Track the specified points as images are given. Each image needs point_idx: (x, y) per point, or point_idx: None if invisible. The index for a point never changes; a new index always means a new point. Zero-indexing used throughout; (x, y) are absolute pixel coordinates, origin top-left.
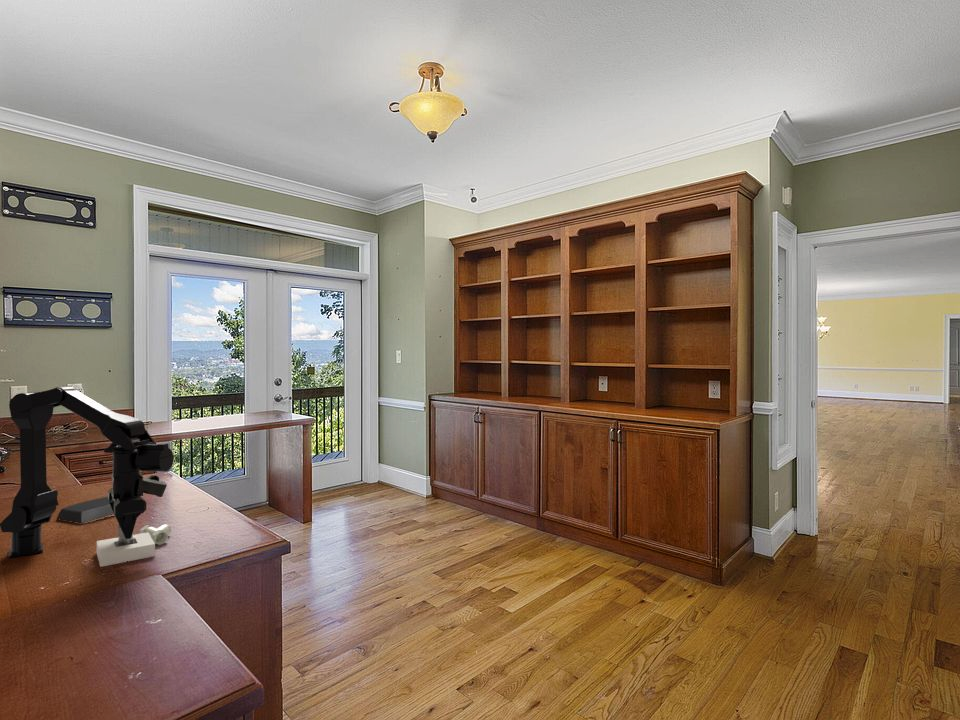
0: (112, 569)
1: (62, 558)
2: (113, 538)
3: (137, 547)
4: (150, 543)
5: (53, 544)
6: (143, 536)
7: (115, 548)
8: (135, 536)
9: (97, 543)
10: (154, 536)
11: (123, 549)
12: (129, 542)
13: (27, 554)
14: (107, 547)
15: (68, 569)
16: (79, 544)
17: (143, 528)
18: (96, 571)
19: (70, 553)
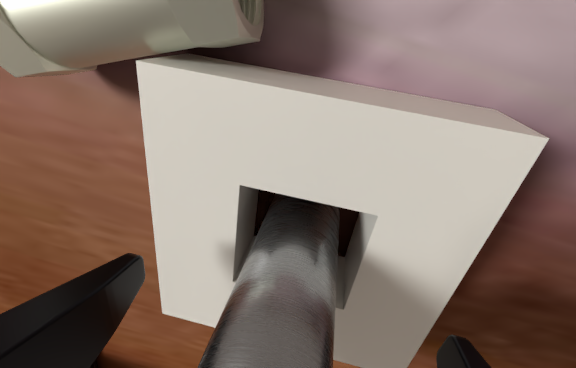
0: (476, 307)
1: (182, 335)
2: (162, 260)
3: (477, 248)
4: (487, 160)
5: (13, 300)
6: (237, 131)
7: (372, 320)
8: (196, 169)
9: (207, 325)
10: (242, 38)
11: (438, 309)
12: (337, 253)
13: (95, 364)
14: None
15: None
16: (43, 262)
17: (10, 56)
18: (434, 339)
19: (140, 308)
